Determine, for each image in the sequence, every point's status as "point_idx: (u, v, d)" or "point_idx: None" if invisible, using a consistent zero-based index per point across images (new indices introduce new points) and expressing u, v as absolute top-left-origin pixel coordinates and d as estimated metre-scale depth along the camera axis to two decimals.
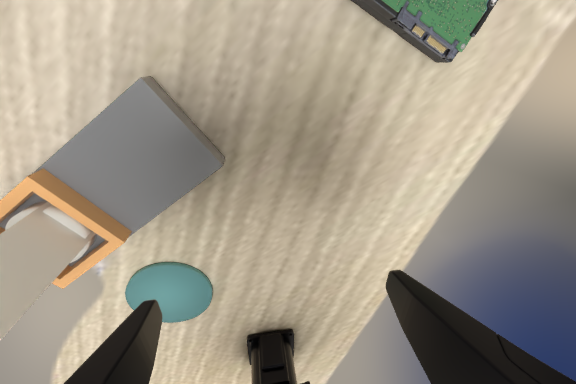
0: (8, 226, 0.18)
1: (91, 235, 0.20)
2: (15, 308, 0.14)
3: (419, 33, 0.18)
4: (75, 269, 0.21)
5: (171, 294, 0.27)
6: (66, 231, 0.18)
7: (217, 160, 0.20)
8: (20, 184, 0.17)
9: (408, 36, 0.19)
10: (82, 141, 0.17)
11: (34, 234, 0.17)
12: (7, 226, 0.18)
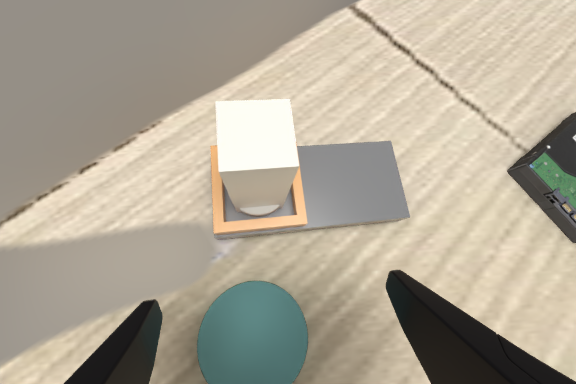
0: None
1: None
2: None
3: (567, 209, 0.25)
4: (246, 221, 0.20)
5: (257, 337, 0.20)
6: None
7: (407, 211, 0.23)
8: None
9: (555, 211, 0.26)
10: (331, 149, 0.24)
11: None
12: None
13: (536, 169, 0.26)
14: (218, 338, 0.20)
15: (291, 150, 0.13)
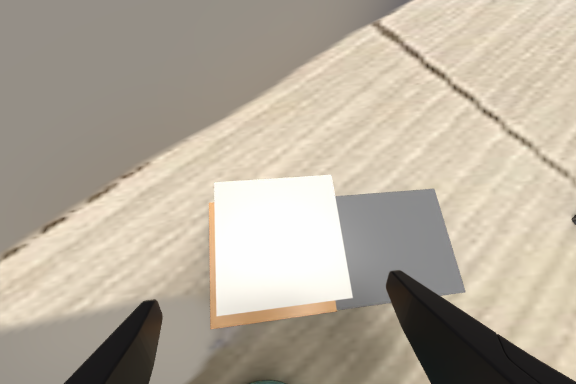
0: None
1: None
2: None
3: None
4: None
5: None
6: None
7: (461, 283, 0.18)
8: None
9: None
10: (361, 200, 0.19)
11: None
12: None
13: None
14: None
15: (337, 267, 0.08)
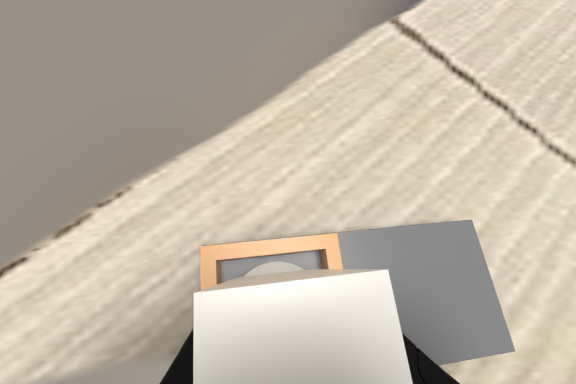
0: (259, 268, 0.13)
1: None
2: None
3: None
4: None
5: None
6: None
7: (509, 339, 0.15)
8: (322, 235, 0.14)
9: None
10: (386, 236, 0.16)
11: None
12: (258, 268, 0.13)
13: None
14: None
15: None
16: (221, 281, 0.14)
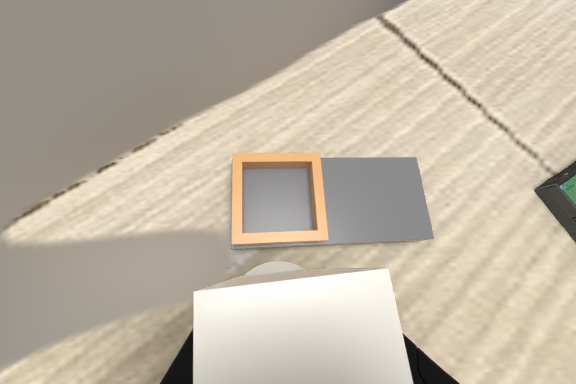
0: (259, 268, 0.13)
1: None
2: None
3: None
4: (265, 234, 0.19)
5: None
6: None
7: (431, 232, 0.22)
8: (310, 153, 0.21)
9: None
10: (354, 162, 0.23)
11: None
12: (258, 267, 0.13)
13: (567, 191, 0.25)
14: None
15: None
16: (243, 180, 0.22)
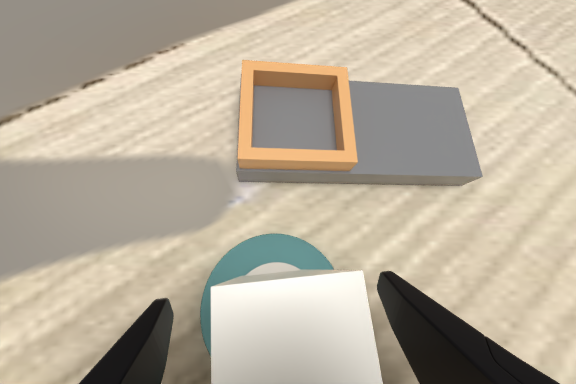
0: (259, 268, 0.14)
1: None
2: None
3: None
4: (279, 150, 0.15)
5: None
6: None
7: (479, 169, 0.18)
8: (335, 67, 0.18)
9: None
10: (386, 88, 0.20)
11: None
12: (258, 268, 0.14)
13: None
14: None
15: None
16: (254, 97, 0.18)
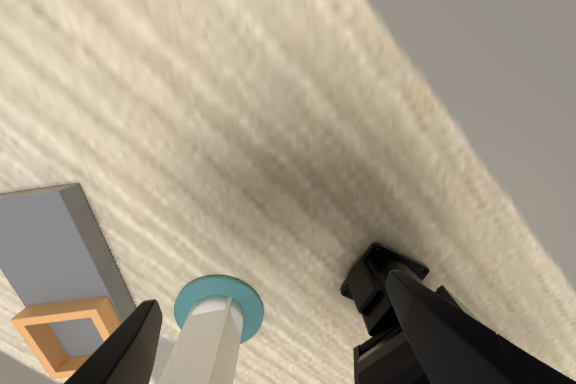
0: None
1: (228, 303, 0.23)
2: (201, 383, 0.17)
3: None
4: None
5: None
6: (210, 314, 0.22)
7: (51, 192, 0.19)
8: (16, 327, 0.21)
9: None
10: (9, 272, 0.21)
11: (192, 331, 0.21)
12: None
13: None
14: None
15: None
16: (79, 356, 0.25)
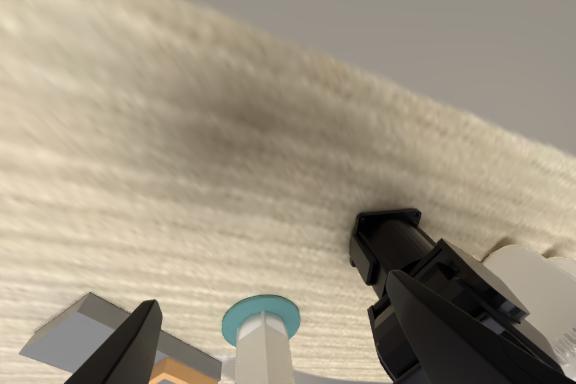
0: None
1: (262, 318, 0.26)
2: None
3: None
4: None
5: None
6: (252, 333, 0.26)
7: (73, 314, 0.21)
8: None
9: None
10: None
11: (244, 354, 0.24)
12: None
13: None
14: None
15: None
16: None
